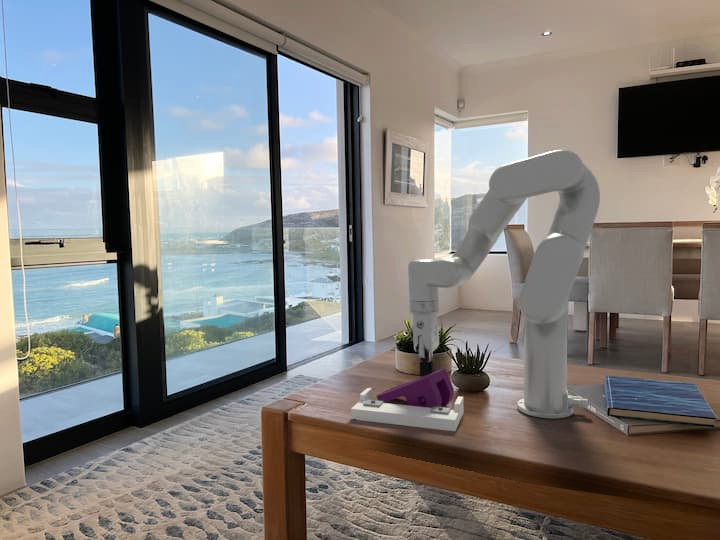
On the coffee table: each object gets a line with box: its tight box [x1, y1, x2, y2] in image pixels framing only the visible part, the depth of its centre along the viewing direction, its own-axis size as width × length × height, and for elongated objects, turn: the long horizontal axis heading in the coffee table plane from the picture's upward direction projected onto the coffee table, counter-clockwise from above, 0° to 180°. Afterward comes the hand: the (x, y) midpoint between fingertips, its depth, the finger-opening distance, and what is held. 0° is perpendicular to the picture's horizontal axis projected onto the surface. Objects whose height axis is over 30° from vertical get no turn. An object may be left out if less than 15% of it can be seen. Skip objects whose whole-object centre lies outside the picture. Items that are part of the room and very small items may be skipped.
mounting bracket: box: [375, 367, 455, 408], centre depth 125 cm, size 9×8×18 cm
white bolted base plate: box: [350, 387, 464, 432], centre depth 119 cm, size 24×12×4 cm, turn 70°
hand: (426, 375), depth 134 cm, fingers closed
